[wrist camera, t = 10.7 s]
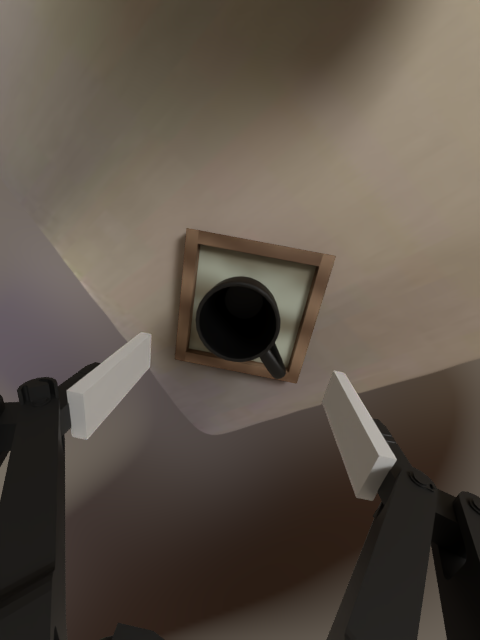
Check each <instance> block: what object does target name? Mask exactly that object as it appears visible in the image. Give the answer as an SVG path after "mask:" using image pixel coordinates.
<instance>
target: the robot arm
mask: <svg viewBox="0 0 480 640" xmlns="http://www.w3.org/2000/svg"><path fill="white" fill-rule="evenodd" d="M150 358H151V334H149V333H144V332H140V333H139V334H138V335H137V336H135V337H134V338H133V339H131V340H130V341H129V342H128V343H126V344H125V345H124V346H123V347H121V348H120V349H119V350H118V351H116V352H115V353H114V354H112V355H111V356H110V357H109V358H107V359H106V360H105V361H104V362H102V363H96V362H95V363H93V364H90V365H87V366H85V367H84V368H83V369H81V370H80V371H79V372H78V373H76V374H74V375H73V376H72V377H70V378H69V379H68V380H66V381H65V382H63V383H62V384H61V385H59V386H57V381H56V380H55V379H53V378H49V377H43V378H36V379H32V380H30V381H27V382H25V383H24V384H22V385H21V386H19V388H18V390H17V392H18V397H19V402H8V403H4V401H3V398H2V396H1V395H0V466H1V465H2V463H3V461H4V459H5V457H6V456H7V454H8V452H9V451H11V453H10V457H9V462H8V467H7V472H6V476H5V481H4V486H3V491H2V495H1V500H0V640H67V629H66V604H65V603H66V601H65V599H66V595H65V594H66V592H65V438H64V434H65V433H66V432H67V431H68V430H69V429H70V428H71V433H72V437H76V438H81V439H85V440H88V438H89V437H90V436H91V435H92V434H93V432H94V431H95V430H96V429H97V428H98V427H99V426H100V424H101V423H102V422H103V421H104V420H105V419H106V417H107V416H108V415H109V414H110V413H111V412H112V411H113V409H114V408H115V407H116V406H117V405H118V404H119V402H120V401H121V400H122V399H123V398H124V396H125V395H126V394H127V393H128V392H129V391H130V390H131V388H132V387H133V386H134V385H135V384H136V383H137V381H138V380H139V379H140V378H141V377H142V376H143V374H144V373H145V372H146V371H147V370H148V369H149V368H150ZM322 404H323V406H324V409H325V412H326V415H327V418H328V420H329V423H330V426H331V428H332V431H333V434H334V437H335V440H336V442H337V445H338V448H339V451H340V453H341V456H342V459H343V462H344V464H345V467H346V470H347V473H348V476H349V478H350V481H351V484H352V486H353V489H354V492H355V495H356V497H357V498H362V499H367V500H371V501H373V499H374V497H375V496H376V494H377V493H378V494H379V496H380V498H381V500H382V502H381V504H380V505H379V507H378V509H377V510H376V512H375V514H374V515H373V517H374V520H373V523H372V525H371V528H370V530H369V533H368V535H367V538H366V541H365V543H364V546H363V548H362V551H361V554H360V556H359V559H358V561H357V564H356V566H355V569H354V571H353V574H352V576H351V579H350V581H349V584H348V586H347V589H346V592H345V594H344V597H343V599H342V602H341V604H340V607H339V610H338V612H337V615H336V617H335V620H334V622H333V625H332V627H331V630H330V632H329V635H328V637H327V640H417V636H418V629H419V622H420V615H421V608H422V601H423V594H424V587H425V580H426V573H427V566H428V560H429V552H430V546H431V547H432V553H433V558H434V565H435V570H436V576H437V582H438V588H439V594H440V600H441V606H442V612H443V618H444V624H445V630H446V636H447V640H480V498H479V497H478V496H476V495H474V494H471V493H469V492H461V493H459V495H458V496H457V497H454V496H452V495H450V494H448V493H445V492H443V491H441V490H439V489H437V488H436V486H435V484H434V483H433V482H432V481H431V479H430V478H429V477H428V476H426V475H425V474H424V473H423V472H421V471H419V470H418V469H416V468H413V467H412V466H411V464H410V463H409V461H408V460H407V458H406V457H405V455H404V454H403V452H402V450H401V449H400V447H399V446H398V444H396V442H395V440H394V438H393V437H392V435H391V434H390V432H389V431H388V429H387V428H386V426H385V425H383V424H382V423H381V422H380V421H379V420H378V419H373V418H371V416H370V414H369V412H368V411H367V409H366V408H365V406H364V404H363V403H362V401H361V399H360V398H359V396H358V394H357V393H356V391H355V389H354V388H353V386H352V384H351V383H350V381H349V379H348V378H347V376H346V375H345V373H343V372H338V371H333V373H332V376H331V379H330V381H329V384H328V387H327V389H326V392H325V395H324V397H323V400H322ZM100 640H164V639H163V638H162V637H160V636H159V635H158V634H156V633H155V632H154V631H151V630H146V629H142V628H138V627H134V626H129V625H125V624H121V623H118V624H117V627H116V630H115V633H114V635H113V636H109V637H105V638H103V639H100Z"/></svg>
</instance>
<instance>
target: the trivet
mask: <svg viewBox="0 0 480 640" xmlns="http://www.w3.org/2000/svg"><path fill="white" fill-rule="evenodd" d="M335 257H336V256H333V255H327V254H322V253H317V252H311V251H306V250H301V249H295V248H290V247H285V246H279V245H274V244H269V243H263V242H258V241H253V240H247V239H242V238H237V237H231V236H226V235H221V234H215V233H210V232H205V231H200V230H194V229H189V228H187V229H186V240H185V252H184V263H183V274H182V285H181V296H180V307H179V318H178V329H177V340H176V352H175V359H176V360H181V361H186V362H191V363H196V364H201V365H206V366H211V367H216V368H221V369H227V370H232V371H237V372H242V373H247V374H252V375H257V376H262V377H267V378H272V379H275V378H274V377H272V375H271V374H270V373H269V371H268V370H267V369H266V367H265V366H264V364H263V363H262V361H261V359H260V358H257V359H254V360H251V361H246V362H232V361H227V360H224V359H222V358H219V357H217V356H216V355H214V354H213V353H211V352H210V351H209V350H208V349H207V348H206V347H205V346H204V344H203V343H202V341H201V340H200V338H199V335H198V332H197V330H196V321H195V319H196V311H197V308H198V306H199V303H200V301H201V300H202V299H203V297H204V296H205V294H206V293H207V292H208V291H210V290H211V289H212V288H213V287H214V286H215V285H216V284H218V283H219V282H221V281H223V280H225V279H228V278H231V277H235V276H245V277H250V278H253V279H255V280H257V281H260V282H261V283H262V284H263V285H265V286H266V287H267V288H268V289H269V291H270V292H271V293H272V294H273V296H274V298H275V300H276V303H277V306H278V310H279V314H280V319H281V323H280V332H279V335H278V338H277V340H276V342H275V344H276V346H277V349H278V351H279V353H280V356H281V358H282V361H283V363H284V366H285V369H286V374H285V376H284V377H283V378H281V379H277V380H282V381H287V382H292V383H297V381H298V377H299V374H300V371H301V368H302V364H303V361H304V358H305V355H306V352H307V348H308V345H309V342H310V339H311V335H312V332H313V329H314V326H315V322H316V319H317V316H318V313H319V309H320V306H321V303H322V300H323V296H324V293H325V290H326V287H327V283H328V280H329V277H330V274H331V270H332V267H333V264H334V261H335Z"/></svg>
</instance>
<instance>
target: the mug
mask: <svg viewBox="0 0 480 640" xmlns="http://www.w3.org/2000/svg"><path fill="white" fill-rule="evenodd" d="M195 321H196V330H197V332H198V335H199V338H200V340H201V341H202V343H203V344H204V346H205V347H206V348H207V349H208V350H209V351H210V352H211V353H213V354H214V355H216V356H217V357H219V358H222V359H224V360H227V361H232V362H246V361H251V360H254V359H257V358H260V359H261V361H262V363H263V364H264V366H265V367H266V369H267V370H268V371H269V373H270V374H271V375H272V377H274V378H275V379H281V378H283V377H284V376H285V374H286V369H285V366H284V363H283V361H282V358H281V356H280V353H279V351H278V349H277V346H276V344H275V342H276V340H277V338H278V335H279V332H280V323H281V319H280V314H279V310H278V306H277V303H276V300H275V298H274V296H273V294H272V293H271V292H270V291H269V289H268V288H267V287H266V286H265V285H263V284H262V283H261V282H260V281H257V280H255V279H253V278H250V277H245V276H235V277H231V278H228V279H225V280H223V281H221V282H219V283H218V284H216V285H215V286H214V287H213V288H212V289H211V290H210V291H208V292H207V293H206V294H205V296H204V297H203V299H202V300H201V301H200V303H199V306H198V308H197V311H196V319H195Z"/></svg>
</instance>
